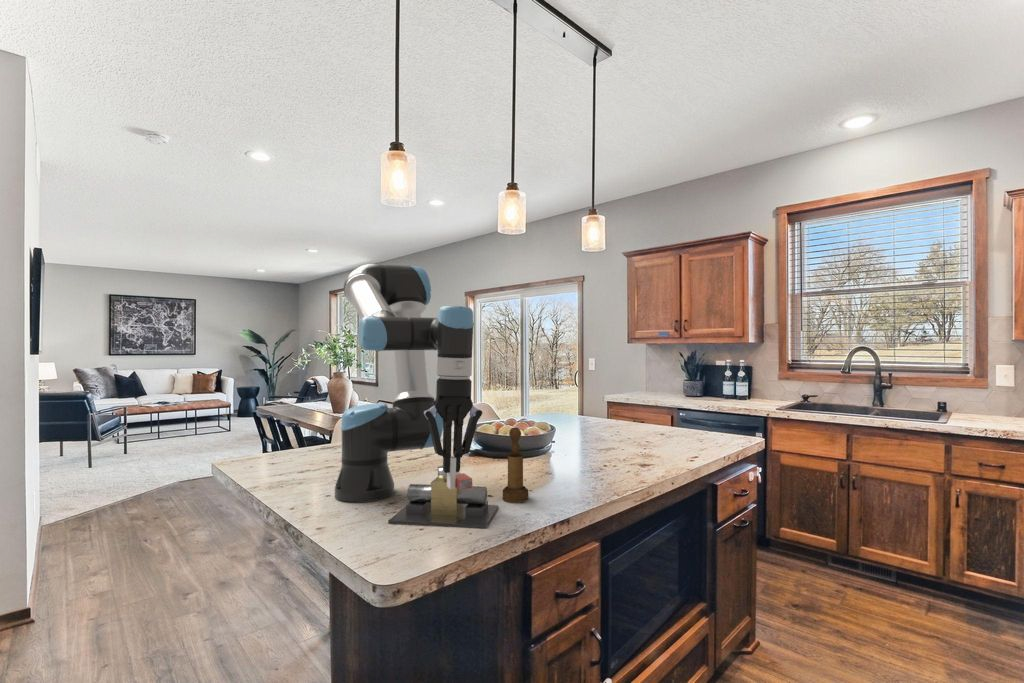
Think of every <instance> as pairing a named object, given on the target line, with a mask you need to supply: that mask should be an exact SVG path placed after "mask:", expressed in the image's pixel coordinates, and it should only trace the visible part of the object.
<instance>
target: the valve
mask: <svg viewBox="0 0 1024 683" xmlns="http://www.w3.org/2000/svg"><path fill="white" fill-rule="evenodd" d="M406 497H407V500H408V502H407V503H406V504H405V506H404V507H402V508H401V509H400V510H399V511H398V512H397V513H395V514H394V515H393V516H392V517H391V518H390V519H388V522H387V523H388V524H390V525H391V524H392V525H395V524H396V525H408V526H409V525H410V526H411V525H412V526H413V525H414V526H432V527H434V526H436V527H452V528H453V527H454V528H469V529H470V528H471V529H472V528H473V529H476V528H477V529H487V528H488V527H489V525H490V523H491V522H492V520H493V518H494V516H495V515H496V512H497V511H498V509H499V505H498V504H489V500H488V488H487V486H480V485H479V486H474V485H472V488H469V489H461V490H459V489H457V488H456V487H455V489H449V488H448V487H447V479H445V478H439V477H438V476H437V477H436V478H434V479H433V480H432V481H431V482H430V484H429V483H428V484H422V483H410V484H409V486H408V488H407V496H406Z"/></svg>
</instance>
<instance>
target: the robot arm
mask: <svg viewBox="0 0 1024 683" xmlns="http://www.w3.org/2000/svg"><path fill="white" fill-rule="evenodd" d="M431 286H432V285H431V282H430V277H429V275H428V272H426V270H425V269H424V268H422V267H421V266H415V265H414V266H413V265H411V264H410V265H409V264H407V265H401V264H400V265H399V264H383V263H368V264H363V265H361V266H358V267H356V268H355V269H353V270H352V271H351V272H350V273H349V274H348V275H347V276H346V278H345V279H344V284H343V293H344V297H345V299H346V300H347V301H348V302H349V303H350V305H351V306H354V308H355V311H356V312H357V315H358V316H359V319H360V320H359V324H358V331H357V332H358V342H359V347H360V348H361V349H362V350H363V351H374V352H384V351H385V352H386V351H390V352H391V351H393V353H394V354H393V355H394V356H393V357H394V367H395V368H394V369H395V378H396V380H395V381H396V394H397V396H396V397H395V399H393V401H392V403H391V404H392V407H389V406H388V405H387V403H385V402H376V403H367V404H362V405H357V406H353V407H350V408H347V409H346V410H345V411H344V412H343V413H342V415H341V425H340V431H341V467H340V470H339V473H338V476H337V480H336V483H335V487H334V498H335V500H338V501H341V502H349V503H362V502H365V503H366V502H373V501H378V500H382V499H385V498H388V497H390V496H393V494H394V493H395V482H394V479H393V476H392V472H391V470H390V467H389V464H388V455H389V454H388V453H390V452H400V451H401V452H402V451H410V450H423V449H429V448H433V449H434V453H435V454H436V455H438V456H439V457H440V456H441V457H442V466H443V471H444V472H445V473H447V487H448V488H449V489H455V482H456V472H460V471H461V459H462V457H463V456H464V455H468V454H469V453H470V451H471V447H472V443H473V440H474V435H475V432H476V428H477V426H478V422H479V420H480V418H481V416H482V415H483V411H482V410H481V409H478V408H476V407H475V406H474V402H473V401H472V400H473V399H472V382H473V381H472V380H471V379H470V377H471V376H472V372H473V340H474V327H475V322H474V311H473V309H472V308H471V307H469V306H462V305H461V306H460V305H445V306H444V305H443V306H441V307H440V308H439V311H438V317H422V314H423V312H424V311H426V307H427V306H428V305H429V303H431V302H430V301H431V297H432V293H431V292H432V287H431ZM426 351H437V358H436V359H437V361H436V362H437V363H436V375H437V376H438V377H439V378H437V379H436V388H435V389H436V390H435V392H436V395H435V396H436V397H434V396H433V395H432V394H431V393H429V386H428V385H429V384H428V374H427V364H426V363H427V362H426V353H425V352H426ZM467 415H469V417H468V418H469V419H468V421H467V425H466V428H465V432H464V437H463V430H464V428H463V426H464V422H465V421H464V420H465V418H466V417H467ZM452 427H453V428H452ZM452 429H453V431H452ZM452 432H453V434H452ZM452 435H453V438H452ZM441 438H442V442H441ZM452 439H453V443H452ZM452 445H453V446H452ZM452 454H453V455H452Z"/></svg>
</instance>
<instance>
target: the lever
mask: <svg viewBox="0 0 1024 683" xmlns="http://www.w3.org/2000/svg"><path fill="white" fill-rule="evenodd" d="M437 477H439V478H445V479H447V473H445V472H444V471H443V465H440V466H437ZM472 486H473V478H472V477H470V476H469V475H468V474H466V473H461V472H460V471H459V472H456V482H455V487H456V488H457V489H459V490H461V489H469V488H472Z"/></svg>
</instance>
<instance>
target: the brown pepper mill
mask: <svg viewBox="0 0 1024 683" xmlns="http://www.w3.org/2000/svg"><path fill="white" fill-rule="evenodd" d="M508 435H509V438H510V439H511V441H512V443H511V445H510V450H511V453H509V454H507V485H506V486H505V487H504V488H502V500H503V501H504V502H506V503H514V504H516V503H517V504H519V503H525V502H527V501H528V500H529V489H528V488H527V487H526V486H525V485H524V455H523V454H521V453H520V448H521V447H520V446H521V445H519V440H520V438H521V435H522V431H521V429H520V428H519V427H511V429H509V431H508Z"/></svg>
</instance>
